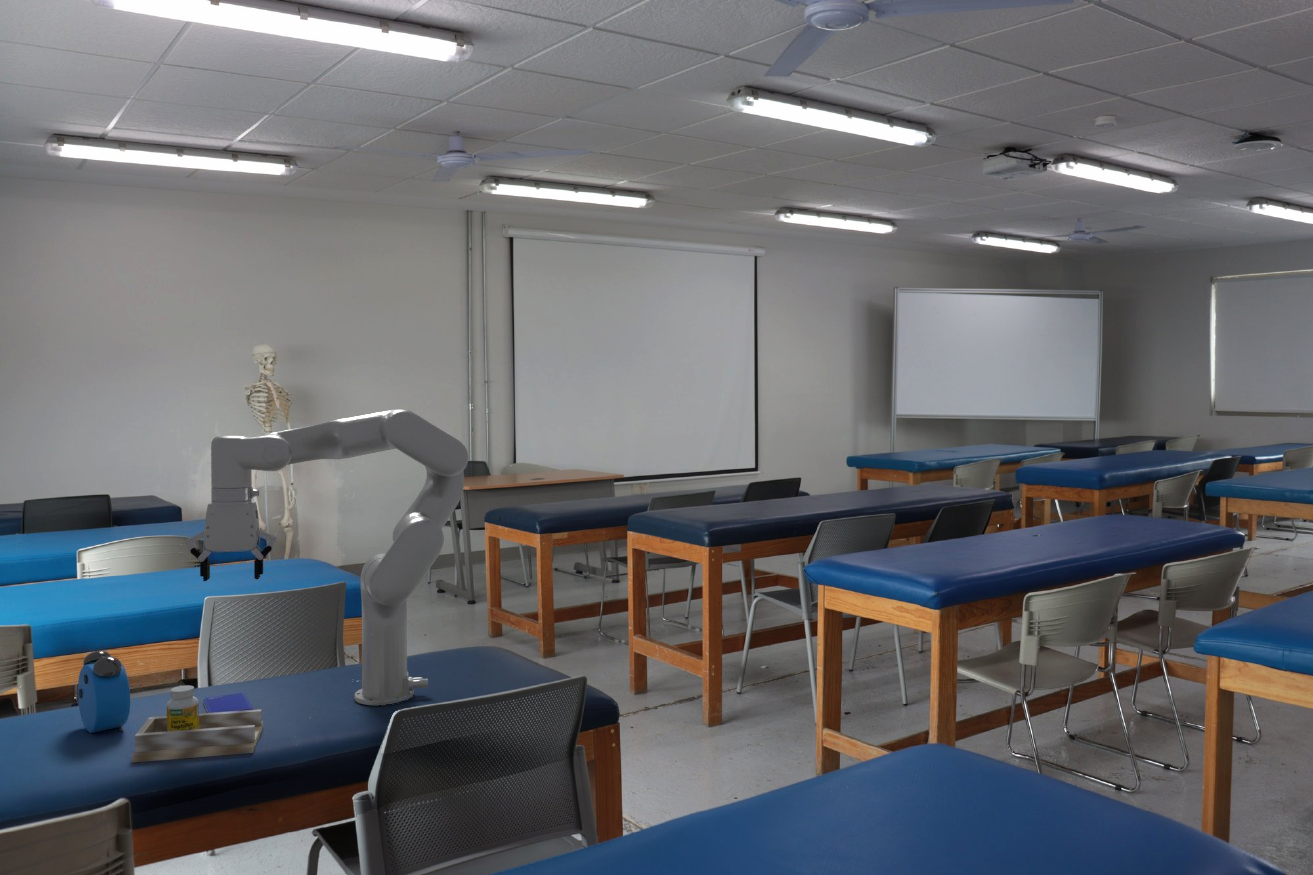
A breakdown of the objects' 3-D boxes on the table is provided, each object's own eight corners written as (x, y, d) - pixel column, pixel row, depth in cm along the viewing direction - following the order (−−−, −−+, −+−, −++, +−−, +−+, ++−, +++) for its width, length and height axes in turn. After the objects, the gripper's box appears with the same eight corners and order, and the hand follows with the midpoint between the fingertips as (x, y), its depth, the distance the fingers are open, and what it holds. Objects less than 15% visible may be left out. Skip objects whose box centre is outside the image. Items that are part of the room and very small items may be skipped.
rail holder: (263, 727, 186) (263, 706, 186) (252, 752, 173) (252, 730, 173) (151, 735, 181) (151, 714, 181) (132, 762, 168) (131, 739, 167)
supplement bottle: (200, 732, 180) (199, 682, 179) (198, 741, 175) (197, 690, 174) (168, 735, 178) (167, 685, 177) (165, 745, 173) (165, 694, 172)
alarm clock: (131, 734, 182) (130, 657, 181) (95, 742, 177) (94, 663, 177) (110, 717, 191) (110, 644, 190) (76, 724, 187) (75, 650, 186)
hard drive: (203, 698, 201) (210, 714, 191) (244, 692, 205) (253, 708, 195) (203, 705, 201) (210, 722, 191) (244, 699, 205) (253, 715, 195)
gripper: (279, 493, 197) (279, 574, 198) (189, 494, 193) (189, 577, 193) (274, 497, 190) (274, 580, 191) (181, 498, 186) (181, 584, 186)
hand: (232, 579), depth 192 cm, fingers open, 9 cm apart
